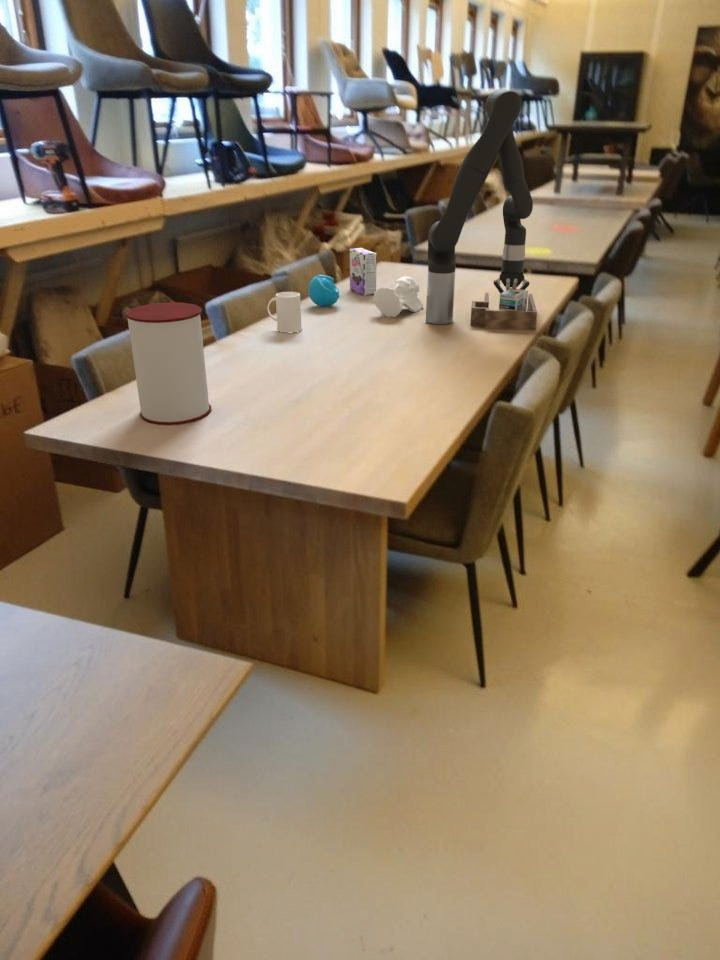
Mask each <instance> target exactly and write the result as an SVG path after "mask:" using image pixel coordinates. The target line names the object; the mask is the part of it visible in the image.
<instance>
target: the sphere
mask: <svg viewBox="0 0 720 960" xmlns="http://www.w3.org/2000/svg"><path fill="white" fill-rule="evenodd" d="M334 280H335V279H334V278H333V277H331V276H329V275H325V274H318V275H315V276H314V277H313V278H312V279H311V281H310V282H309V285H308V295H309V299H310V300H311V301H312V303H313V304H315V305H316V306H319V307H323V308H328V307H331V306H333V305H335V304H336V303H337V302H338V300H339V298H340V290H339V288H338V287H337V286H336V284H335V283H334Z"/></svg>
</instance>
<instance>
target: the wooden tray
mask: <svg viewBox="0 0 720 960" xmlns="http://www.w3.org/2000/svg"><path fill="white" fill-rule="evenodd" d="M489 295H490V293H489V292H485V293H484V301H482V300H472V301H471V307H470V308H471V309H470V326H472V327H473V326H474V327H475V326H478V327H484V329H492V330H493V329H494V330H495V329H496V330H497V329H498V330H521V331H523V330H524V331H536V327H537V317H538V316H537V315H538V309H537V308H536V304H535V300H534V296H533V294H531V293H528V298H527V308H526V311H509V310H499V309H490V307H489V304H490V300H489V299H490V297H489Z"/></svg>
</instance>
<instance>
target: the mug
mask: <svg viewBox="0 0 720 960" xmlns="http://www.w3.org/2000/svg"><path fill="white" fill-rule="evenodd" d="M268 301H269V302H268V303H267V313H268V316H269V317H270V318H271V319H272V320H273V321H275V322H277V323H276V331H277V330H278V331H280V332H297V331H300V332H302V331H303V328H302V309H301V293H300V292H297V291H281V292H277V293H275V296H274V297H272V298H271V299H270V300H268ZM274 301H275V305H276V306H275V307H276V308H275V309H276V317H275V316H273V315H272V313H271V312H270V305H271V304H272V302H274ZM301 330H302V331H301ZM278 331H277V332H278ZM280 332H279V333H280ZM297 333H298V332H297Z"/></svg>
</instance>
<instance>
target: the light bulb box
mask: <svg viewBox="0 0 720 960" xmlns="http://www.w3.org/2000/svg"><path fill="white" fill-rule="evenodd" d="M528 296H529V290H528V289H527V290H526V289H525V290H521V289H520V288H516V289H514V288H512V287H511V288H510V289H508V290H506V289H505V290H504V292H503V293H501V294H500V293H499V303H498V310H509V311H527V306H528Z"/></svg>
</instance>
